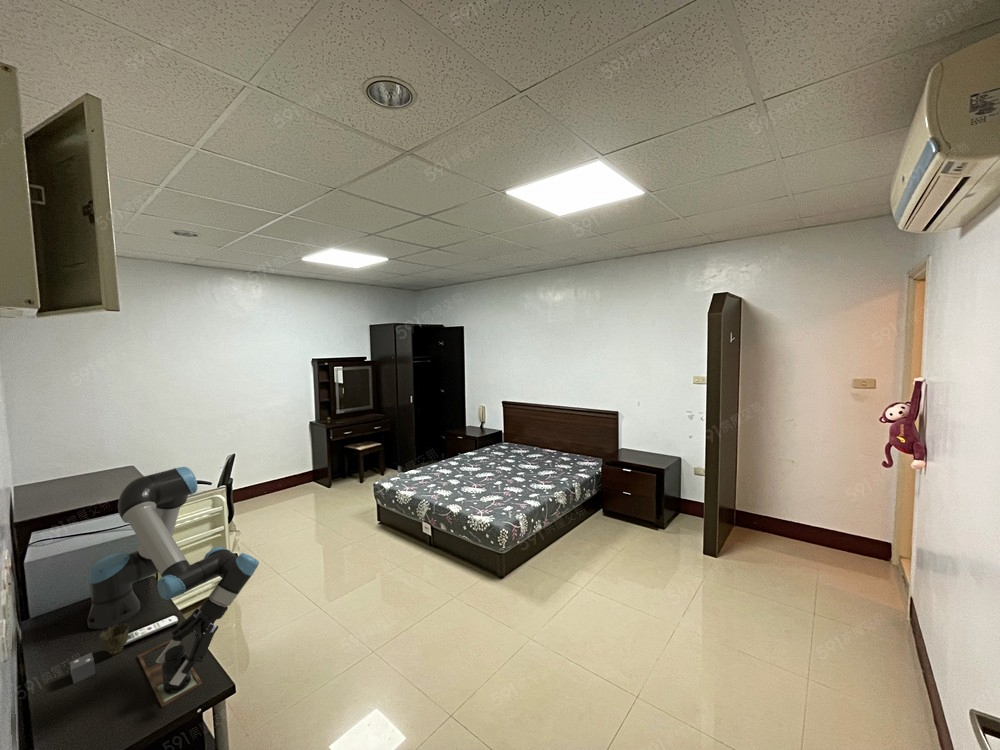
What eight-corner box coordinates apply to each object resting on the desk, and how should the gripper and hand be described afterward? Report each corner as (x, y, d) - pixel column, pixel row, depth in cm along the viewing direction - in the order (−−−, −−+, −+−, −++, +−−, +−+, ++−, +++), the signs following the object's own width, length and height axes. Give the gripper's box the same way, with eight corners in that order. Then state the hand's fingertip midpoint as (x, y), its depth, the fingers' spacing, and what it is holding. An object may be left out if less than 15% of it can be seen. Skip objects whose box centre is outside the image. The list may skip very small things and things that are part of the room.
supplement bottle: (196, 681, 130) (192, 646, 129) (171, 698, 124) (167, 662, 123) (183, 673, 133) (180, 639, 132) (159, 690, 127) (155, 654, 126)
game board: (137, 657, 140) (137, 655, 140) (174, 639, 148) (174, 638, 148) (161, 707, 121) (161, 705, 121) (202, 684, 129) (202, 682, 129)
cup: (112, 661, 138) (110, 640, 138) (95, 658, 140) (93, 636, 139) (136, 645, 146) (134, 624, 145) (119, 642, 147) (117, 621, 146)
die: (71, 676, 133) (69, 661, 132) (92, 666, 137) (91, 652, 136) (73, 684, 130) (71, 669, 129) (95, 673, 134) (93, 659, 133)
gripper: (243, 620, 132) (192, 695, 121) (213, 591, 146) (165, 657, 136) (224, 614, 127) (168, 692, 116) (195, 585, 141) (143, 652, 131)
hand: (166, 673), depth 126 cm, fingers open, 13 cm apart
